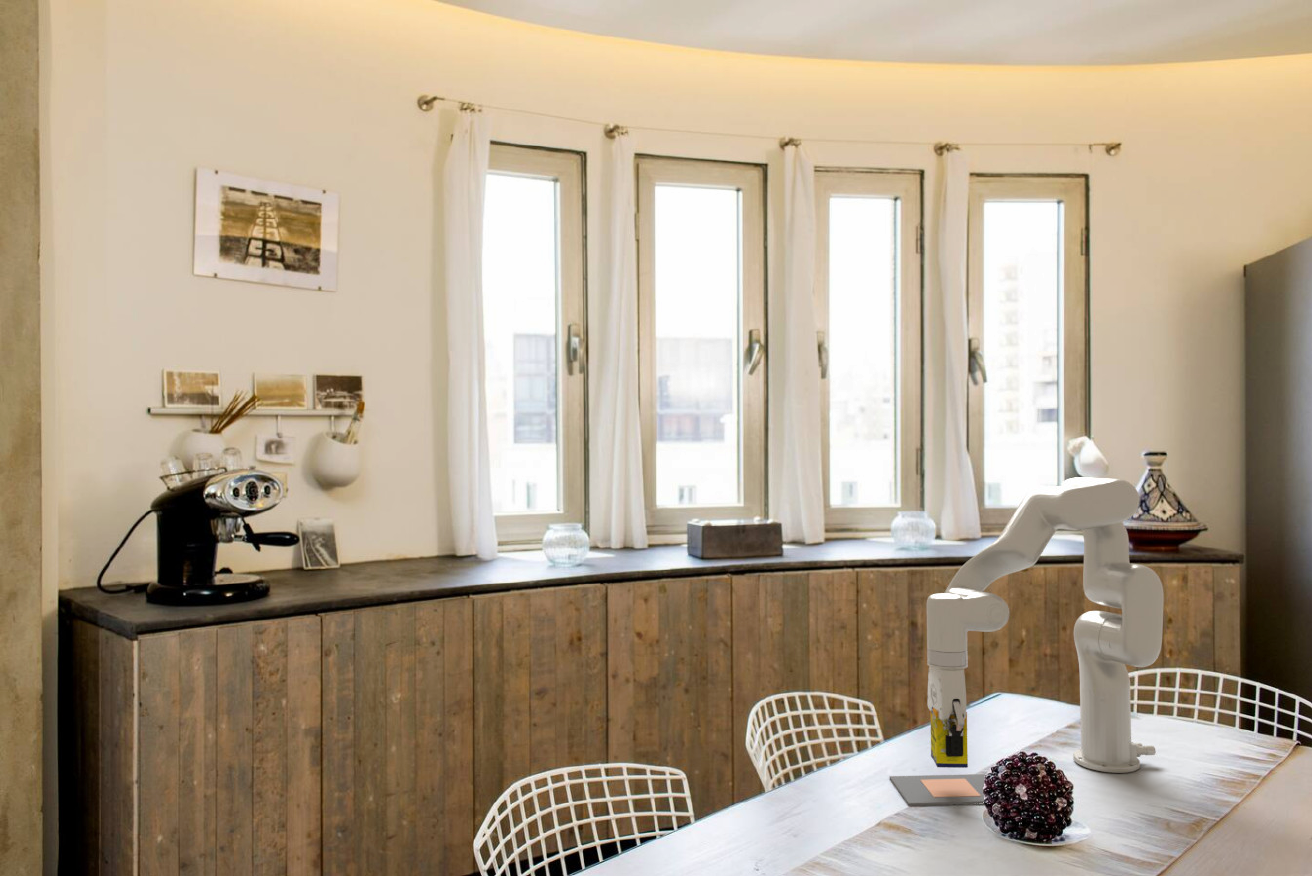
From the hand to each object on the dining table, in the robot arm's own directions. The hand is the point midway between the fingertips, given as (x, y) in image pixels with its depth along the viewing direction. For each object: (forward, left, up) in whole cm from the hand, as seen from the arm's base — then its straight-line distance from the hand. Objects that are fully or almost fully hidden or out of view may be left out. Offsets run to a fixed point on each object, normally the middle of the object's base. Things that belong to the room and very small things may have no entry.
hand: (948, 749), depth 183 cm
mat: (0, 0, -8) cm, 8 cm away
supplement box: (0, 0, -3) cm, 3 cm away
